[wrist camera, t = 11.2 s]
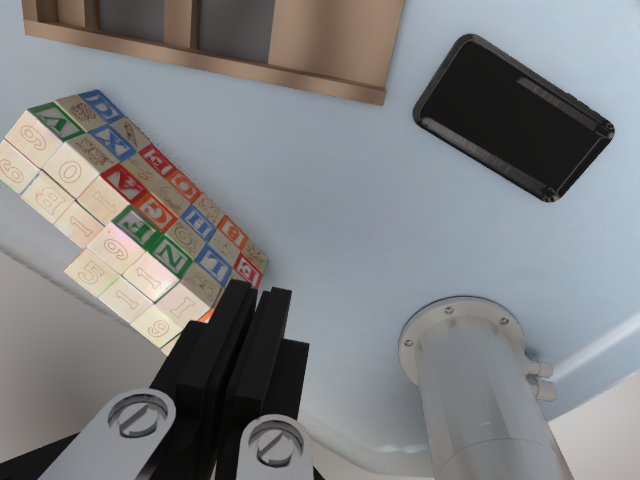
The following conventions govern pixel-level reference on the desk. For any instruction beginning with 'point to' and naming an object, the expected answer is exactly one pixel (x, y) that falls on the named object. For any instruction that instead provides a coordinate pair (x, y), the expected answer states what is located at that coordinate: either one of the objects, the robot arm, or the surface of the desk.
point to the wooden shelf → (239, 37)
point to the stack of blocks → (126, 215)
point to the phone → (511, 119)
